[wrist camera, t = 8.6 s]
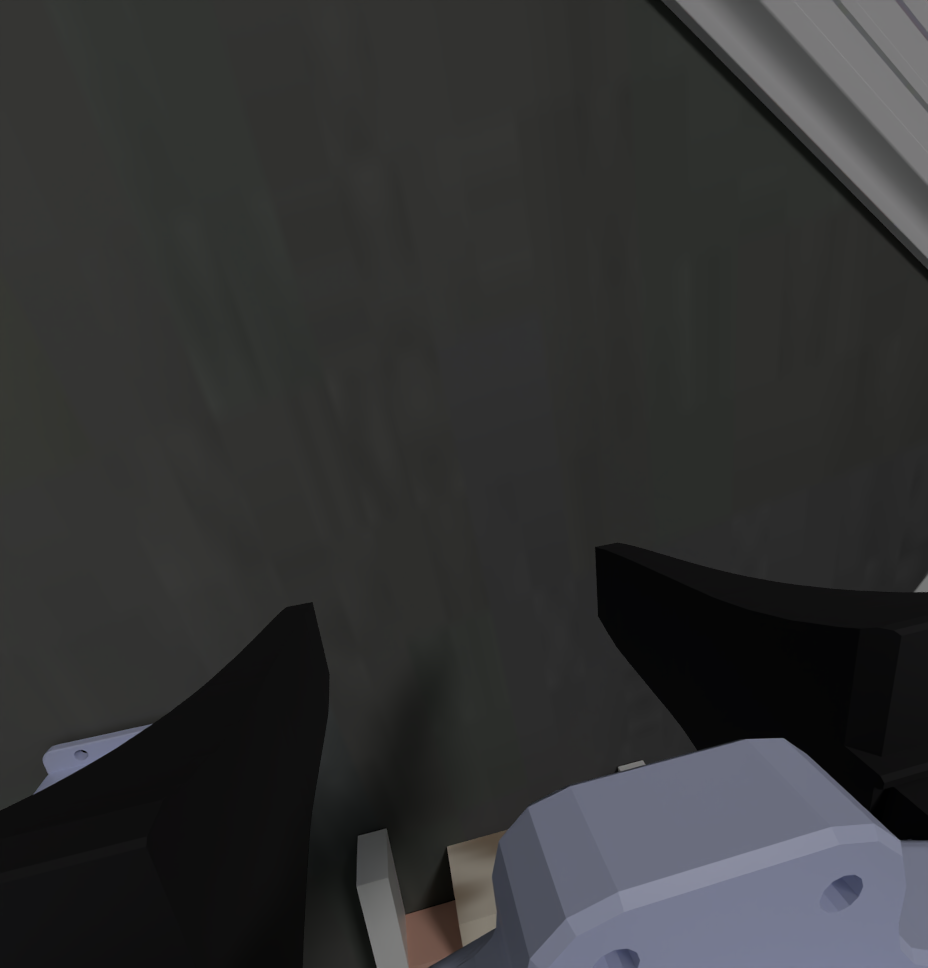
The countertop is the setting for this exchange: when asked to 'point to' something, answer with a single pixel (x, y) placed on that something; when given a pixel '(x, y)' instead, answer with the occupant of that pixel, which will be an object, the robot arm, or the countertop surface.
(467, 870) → the slat block
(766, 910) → the robot arm
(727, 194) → the countertop surface
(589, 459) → the countertop surface
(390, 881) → the block with end panels
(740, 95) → the countertop surface
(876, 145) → the baseboard molding
